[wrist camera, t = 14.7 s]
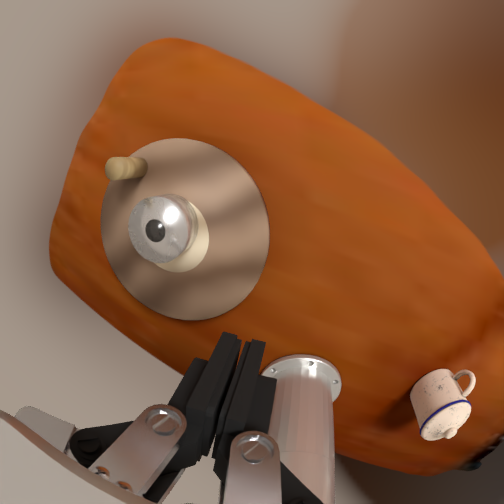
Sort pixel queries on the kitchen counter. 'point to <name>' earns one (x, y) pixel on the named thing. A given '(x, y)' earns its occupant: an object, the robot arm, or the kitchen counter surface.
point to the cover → (163, 227)
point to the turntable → (209, 232)
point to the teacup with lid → (441, 403)
